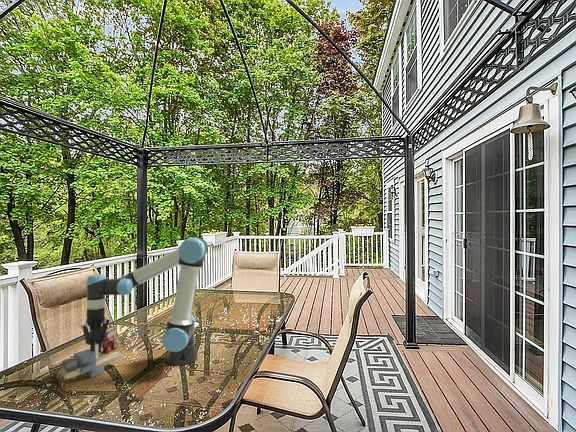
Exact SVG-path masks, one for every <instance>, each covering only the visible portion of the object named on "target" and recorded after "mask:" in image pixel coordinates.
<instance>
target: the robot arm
mask: <svg viewBox="0 0 576 432" xmlns="http://www.w3.org/2000/svg"><path fill="white" fill-rule="evenodd" d="M208 250H209V248H208V243H207V241H206V240H205V239H204V238H202V237H199V236H192V237H188V238H186V239H185V240H183V241H182V242H181V243H180V246H179V247H178V248H177V249H176V250H173V251H172V252H169V253H168V254H166V255H164V256H162V257H160V258H157V259H155V260H153V261H152V262H149V263H147V264H145V265H143V266H141V267H140V268H136V269H135V270H133V271H131V272H129V273H127V274H125V275H123V276H120V277H119V278H106V276H105V274H90V275H89V276H88V277H87V281H86V282H87V283H86V308H87V309H86V321H85V323H84V324H81V325H80V328H81V329H82V333H83V337H84V341H85V344H86V345H88V346H90V347H89V349H90V350H89V351H92V352H95V353H96V359H97V358H98V353H99V352H98V350H100V344H101V343H102V341H104V339H105V334H106V333H107V331H108V330H107V329H108V325H109V324H110V319H106V317H105V314H106V311H105V309H106V308H105V307H106V296H126V295H130V294H132V291H133V289H134V288H135V287H137V286H140V285H141V284H143V283H146V282H147V281H149V280H151V279H154V278H156V277H157V276H159V275H161V274H164V273H166V272H168V271H169V270H172V269H174V268H176V267H178V266H179V267H180V268H179V270H180V271H179V275H178V280H177V287H176V292H175V296H174V302H173V308H172V312H171V316H170V317H169V318H168V319H167V323H166V327H165V328H166V329H165V331H164V333H163V335H162V345H163V347H164V348H165V349H166V350H167V351H168V354H167V356H166V358H167V359H166V361H167V363H168V365H172V366H185V365H190V364H193V363H195V362H196V361H197V360H198V352H197V349H196V345H195V316H194V314H192V309H193V304H194V298H195V293H196V286H197V280H198V277H199V271H200V269H202V268H203V267H204V261H205V256H206V255H207V254H208ZM192 362H193V363H192Z"/></svg>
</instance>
